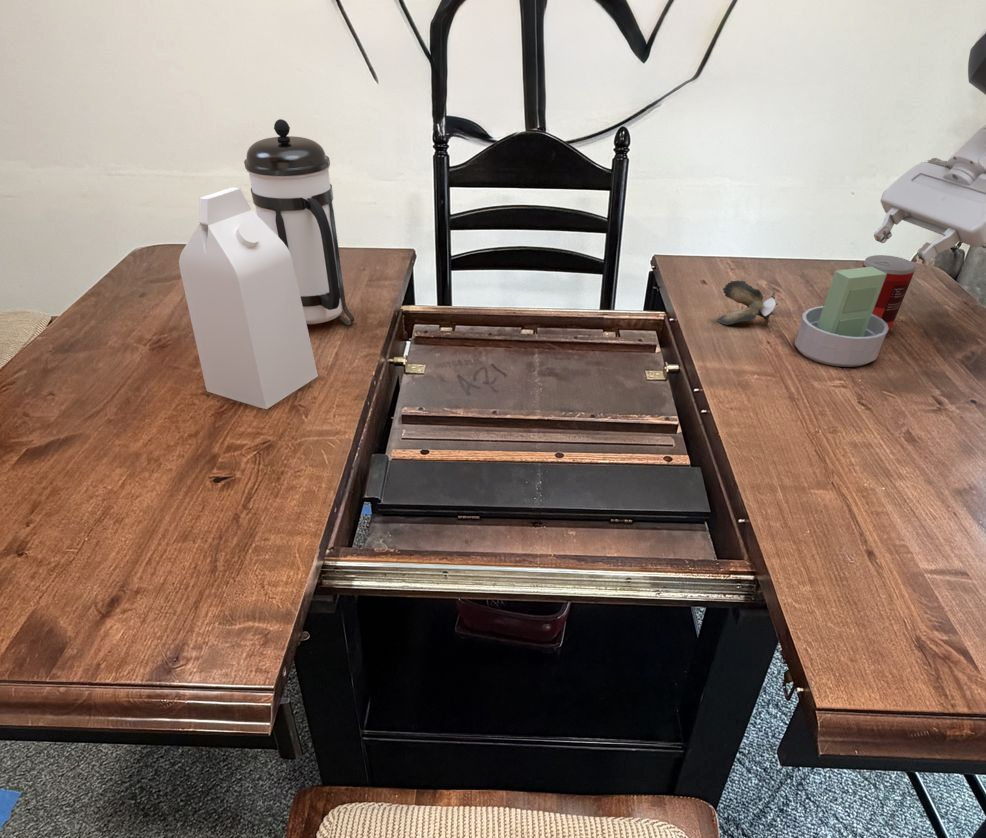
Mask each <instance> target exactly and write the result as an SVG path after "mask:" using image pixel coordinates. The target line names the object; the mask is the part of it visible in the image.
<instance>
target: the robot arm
mask: <svg viewBox="0 0 986 838" xmlns="http://www.w3.org/2000/svg"><path fill="white" fill-rule="evenodd" d="M967 76H968V77H967V78H968V83H969V84H970V85H971V86H973V87H974V88H975V89H977V90H978V91H980V92H981V93H983V94H984V95H985V96H986V28H985V29H984V30H983V31H982V33H981V34H980V35H979V36H978V38H977V39H976V41H975V42H974V44H973V45H972V47H971V48H970V50H969V56H968V62H967ZM880 204H881V206H882V208H883V211H884V212H885V216H884V219H883V221H882V223H881V225H880V227H878V229H877V230H875V231H874V232H873V238H874V239H875V241H876V242H879V243H881V244H885V243H886V242H887V241H888V240H889V239H890V238H891V237H892V236H893V234H892V233H893V232H891V231H892V229H893V227H894V225H899V224H900V223H901V222H902V221H904V222H906V223H909V224H911V225H914V226H917V227H920V228H922V229H925V230H928V231H931V232H933V233H936V234H939V235H941V237H940V238H938V239H935V241H932V242H931V243H930V242H925V243H924V244H923V245H922V247H920V248H918V250H917V252H916V254H917V256H918V259H919V260H922V261H924V262H926V263H928V262H930V260H932V259H933V258H934V257H935V256H937V254H941V253H942V252H944V251H947V250H949V249H951V248H954V246H956V245H957V244H958V243H959V242H960V243H962V244H965V245H968V246H970V247H973V248H980V247H981V246H984V245H986V124H985V125H983V126H982V127H980V128H979V129H978V130H977V131H976V132H975V133H974V134H973V135H972V136H971V137H970V138H968V140H966V142H965V143H963V145H962V146H961V147H959V148H958V149H957V151H955V152H954V153H953V154H952V155H951V156H950V157H949V158H948V160H942V159H941V158H938V157H932V158H931V159H927V160H925V161H921V162H919V163H918V164H916V165H913V167H911V168H909V169H908V170H907V171H905V173H903V174H902V175H901V176H900V177H898V178H897V179H896V180H895V181H894V182H893V183H891V184H890V185H889V186H888V187H887V188H886V189H885V190H884V191H883V192H882V193H881V197H880Z"/></svg>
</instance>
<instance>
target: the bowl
mask: <svg viewBox="0 0 986 838" xmlns="http://www.w3.org/2000/svg"><path fill="white" fill-rule="evenodd" d="M823 306H824V305H818V306H814V307H811V308H809V309H805V311H803V313H802V314H801V317H800V320H799V324H798V327H797V330H796V333H795V337H794V346H795V347H796V348H797V350H798V351H799V352H800V354H802V355H803V356H804V357H806V358H808V359H810V360H812V361H815V362H817V363H820V364H824V365H828V366H833V367H843V368H851V367H852V368H854V367H855V368H856V367H861V366H865V365H867V364H870V363H872V362H874V361H875V360H876V359H877V358H878V357H879V356H880V355H879V354H880V352H881V350H882V347H883V344H884V342H885V339H886V337H887V336H888V335H887V334H888V333H889V332H888V330H889V328H888V325H887V323H886V322H885V321H884V320H883V319H881V318H879V317H878V316H876V315H874V314H872V315H871V318H870V320H869V323H868V326H867V328H866V331H865V334H864V336H863V337H851V336H842V335H837V334H833V333H829V332H826V331H824V330H821V329H818V328H817V325H818V322H819V319H820V316H821V313H822V310H823ZM889 331H890V330H889ZM887 332H888V333H887Z"/></svg>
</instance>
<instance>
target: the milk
mask: <svg viewBox="0 0 986 838" xmlns="http://www.w3.org/2000/svg"><path fill="white" fill-rule="evenodd" d="M198 211H199V212H198V213H199V214H198V215H199V216H198V217H199V218H198V219H199V220H198V221H199V222H198V223H199V224H198V226H197V227H196V229H195V230H194V232H193V233H192V235H191V237H190V238H189V240H188V241H187V243H186V245H185V246H184V247H183V249H182V250H181V252H180V255H179V259H178V266H179V267H178V269H179V272H180V277H181V281H182V282H181V283H182V286H183V290H184V295H185V299H186V304H187V308H188V309H187V310H188V314H189V318H190V322H191V328H192V331H193V336H194V341H195V345H196V350H197V354H198V358H199V364H200V368H201V373H202V377H203V380H204V386H205V391H206V392H207V393H211V394H215V395H217V396H221V397H223V398H227V399H230V400H233V401H236V402H240V403H243V404H245V405H246V404H247V405H249V406H253V407H256V408H259V409H260V408H261V409H263V410H268V409H269V408H271V407H273V406H274V405H276V404H278V403H279V402H281V401H283V400H284V399H285V398H287V397H289V396H290V395H291V394H293V393H294V392H296V391H297V390H299V389H301V388H302V387H304V386H306V385H308V384H309V383H310V382H312V381H313V380H315V379H317V378H318V377H319V375H318V369H317V365H316V362H315V356H314V352H313V347H312V342H311V338H310V335H309V329H308V324H306V319H305V315H304V310H303V306H302V301H301V297H300V292H299V288H298V283H297V279H296V274H295V269H294V265H293V260H292V257H291V254H290V252H289V250H288V248H287V246H286V245H285V244H284V242H283V241H282V240H281V239H280V238H279V237H278V236H277V235H276V234H275V233H274V232H273V231H272V230H271V229H270V228H269V227H268V226H267V225H266V224H265V223H264V222H263V221H262V220H261V219H260V218H259V216H258V215H257V212H255V211H254V210H252V207H251V205H250V203H249V202H248V200H247V198H246V197H245V195H244V193H243V191H242V190H241V188H238V187H233V186H232V187H228V188H226V189H225V188H224V189H223V190H222V189H221V190H219V191H216V192H213V193H210V194H207V195H204V196H201V197H199V210H198Z"/></svg>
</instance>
